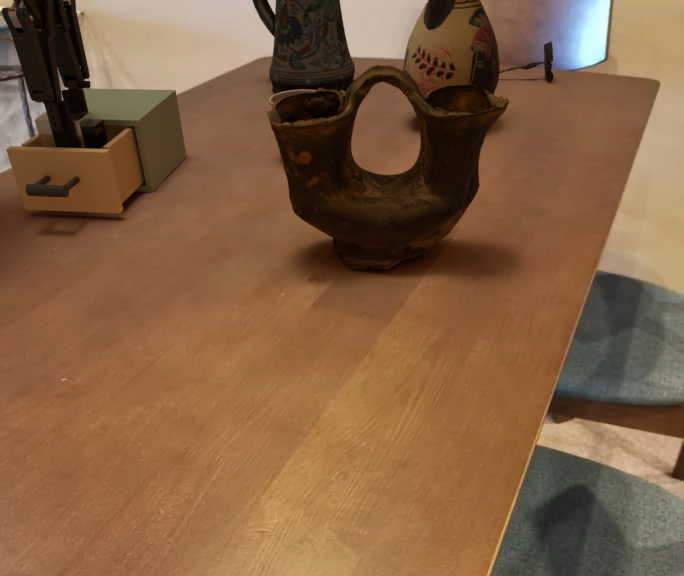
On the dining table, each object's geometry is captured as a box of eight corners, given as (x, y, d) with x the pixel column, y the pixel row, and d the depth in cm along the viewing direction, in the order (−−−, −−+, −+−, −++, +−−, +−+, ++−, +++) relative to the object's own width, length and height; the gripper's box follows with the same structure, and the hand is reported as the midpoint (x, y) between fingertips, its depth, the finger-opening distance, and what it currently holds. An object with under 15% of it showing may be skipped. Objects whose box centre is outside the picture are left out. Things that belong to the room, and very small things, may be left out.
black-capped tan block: (44, 155, 94) (34, 119, 92) (58, 145, 97) (48, 110, 94) (98, 157, 93) (90, 121, 90) (111, 147, 96) (103, 111, 93)
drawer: (104, 229, 90) (88, 166, 85) (6, 225, 92) (-16, 162, 87) (156, 176, 104) (145, 118, 99) (70, 173, 106) (55, 116, 101)
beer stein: (354, 99, 134) (351, -67, 118) (250, 101, 135) (233, -63, 118) (356, 76, 146) (354, -77, 130) (261, 78, 147) (247, -74, 131)
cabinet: (152, 192, 102) (138, 120, 96) (56, 188, 104) (36, 117, 98) (186, 156, 113) (175, 89, 106) (98, 154, 115) (83, 88, 108)
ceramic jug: (448, 105, 130) (461, -106, 110) (512, 125, 120) (540, -102, 101) (374, 125, 122) (375, -98, 102) (438, 148, 113) (452, -93, 93)
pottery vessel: (484, 232, 89) (504, 52, 76) (496, 273, 81) (521, 79, 68) (282, 235, 90) (267, 57, 77) (273, 276, 82) (255, 84, 69)
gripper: (14, -61, 73) (75, 173, 88) (86, -78, 86) (129, 129, 101) (-53, -61, 74) (18, 171, 89) (28, -78, 87) (79, 128, 102)
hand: (77, 148), depth 95 cm, fingers closed on black-capped tan block, 4 cm apart
